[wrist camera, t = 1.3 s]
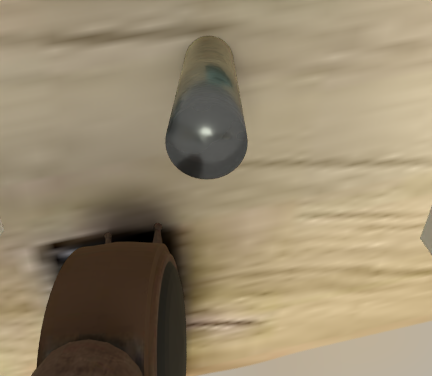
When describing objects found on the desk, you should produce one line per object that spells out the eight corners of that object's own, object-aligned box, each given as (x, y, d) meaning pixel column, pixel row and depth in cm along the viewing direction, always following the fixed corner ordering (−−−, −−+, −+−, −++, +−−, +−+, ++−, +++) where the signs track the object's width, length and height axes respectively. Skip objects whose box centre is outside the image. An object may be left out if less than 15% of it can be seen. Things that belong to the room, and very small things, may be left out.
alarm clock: (197, 321, 37) (184, 639, 20) (120, 324, 37) (44, 642, 20) (180, 189, 30) (137, 520, 13) (84, 195, 30) (-86, 528, 13)
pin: (185, 84, 26) (167, 178, 15) (184, 35, 24) (163, 103, 14) (232, 85, 26) (244, 179, 15) (234, 36, 24) (250, 105, 14)
